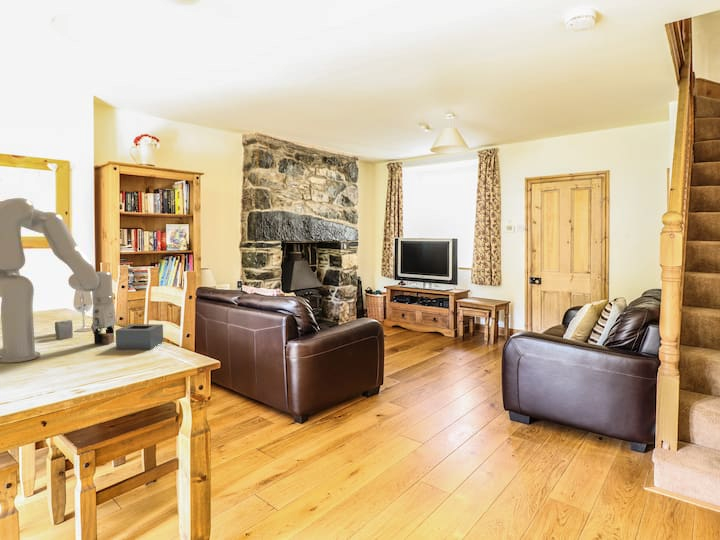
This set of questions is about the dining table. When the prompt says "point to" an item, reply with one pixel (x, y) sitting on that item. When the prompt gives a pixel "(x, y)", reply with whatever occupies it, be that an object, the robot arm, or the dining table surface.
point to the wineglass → (82, 306)
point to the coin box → (139, 336)
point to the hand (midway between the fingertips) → (104, 340)
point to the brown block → (107, 338)
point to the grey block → (64, 329)
